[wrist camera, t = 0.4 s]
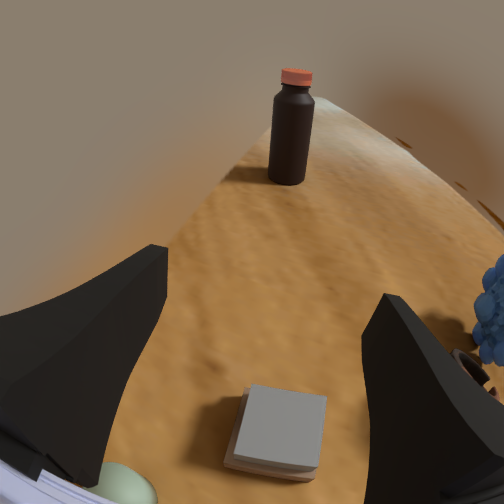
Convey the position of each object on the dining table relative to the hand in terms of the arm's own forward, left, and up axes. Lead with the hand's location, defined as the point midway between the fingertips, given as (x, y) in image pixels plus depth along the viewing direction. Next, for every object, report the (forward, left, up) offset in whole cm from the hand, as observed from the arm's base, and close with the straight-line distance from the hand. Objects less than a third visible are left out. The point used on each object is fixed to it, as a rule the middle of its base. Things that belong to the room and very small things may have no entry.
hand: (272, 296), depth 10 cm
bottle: (+46, +4, -19) cm, 50 cm away
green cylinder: (-8, +8, -19) cm, 22 cm away
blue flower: (+15, -24, -19) cm, 34 cm away
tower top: (+1, -2, -17) cm, 17 cm away
